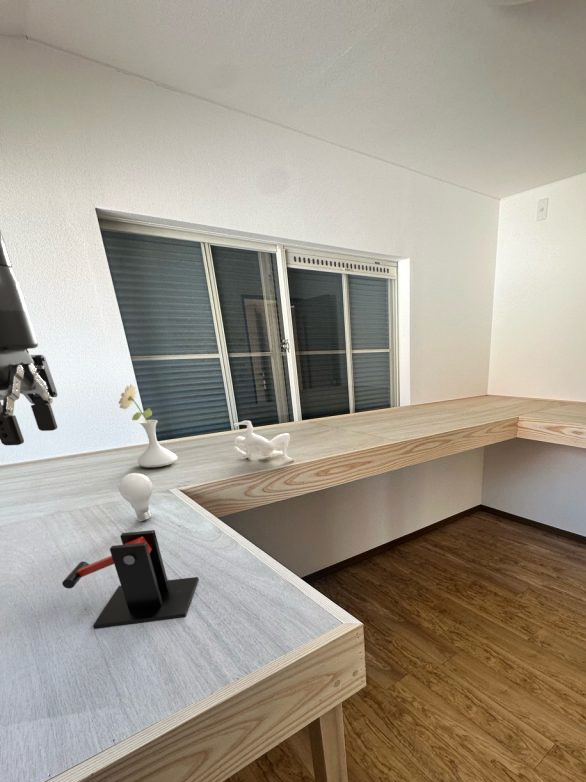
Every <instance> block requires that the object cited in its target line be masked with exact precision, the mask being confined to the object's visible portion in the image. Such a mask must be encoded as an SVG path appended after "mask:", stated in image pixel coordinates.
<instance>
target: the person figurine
mask: <svg viewBox="0 0 586 782" xmlns="http://www.w3.org/2000/svg"><path fill="white" fill-rule="evenodd" d="M240 425H241V426H242V425H244V426H246V430H245V436H236V437H235V438H234V443H235V444H236V445H238V446H243V447H244V449H245V451H243V450H241V449H240V448H239V447H238V446H233V450H234V451H235V452H238V454H240V455H241V456H242V457H243V458H244V459H246V458H248V459H249V458H252V457H253V456H254V454H255V453H257V452H258V453H259V455H261V456H263V457H271V456H276V455H281V459H282V460H287V461H292V460H291V459H292V458H291V457H289V456H288V454H287V449H288V446H289V444H290V439H291V434H290V433H281V434H277V435H276V436H275V437H273V438H272V439H270V440H268V439H267V438H265V437H263V436H261V435H258V434H256V433H254V426H253V424H252V421H251V420H247V419H246V420H242V421H239V422H233V426H234V427H237V426H240ZM280 447H281V450H276V449H278V448H280Z"/></svg>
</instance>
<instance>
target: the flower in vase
mask: <svg viewBox="0 0 586 782" xmlns="http://www.w3.org/2000/svg"><path fill="white" fill-rule="evenodd" d="M136 394H137V388H136V386H134V385H133V384H132V383H131V384H129V385H126V387H125V388H124V392H122V393H120V396H121V397H120V399H119V401H118V405H119V408H120V409H123V410H127V409H128V408H129V407H130V406H131V405H132V404H133V403H134V404H135V406H136V407H137V409H138V411H137V412H135V413H134V414H133V415H132V418H131V420H132V421H138V420H140V418H141V416H143V419H144V420H141V421H139V422H138V423H139V424H140V425H141V426H142V427H143V429H144V430H145V433H146V435H147V439H148V447H147V448H146V449H145V450H144V451H143V452H142V453H141V455H139V456H138V459H137V460H136V463H137V465H139V466H140V467H144V468H160V467H165V466H169V465H171V464H173V463H175V462H176V461H178V456H177V455H176V453H174V452H172V451H171V450H169V449H167V448H165V447H163V446H162V445H160V443H159V442H158V439H157V435H156V434H157V433H156V427H157V423H158V420H157V419H147V418H149V417H152V415H153V412H152V410H151V408H150V407H148V408H146V409H145V410H144V411H142V410H141V408H140V406H139V405H138V403H137V402H136V401H135V398H136Z"/></svg>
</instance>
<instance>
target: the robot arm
mask: <svg viewBox="0 0 586 782" xmlns="http://www.w3.org/2000/svg"><path fill="white" fill-rule="evenodd" d="M38 346H39V342H38V338H37V336H36V333H35V329H34V326H33V323H32V319H31V316H30V312H29V310H28V306H27V303H26V300H25V296H24V293H23V290H22V287H21V285H20V283H19V280H18V279H17V276H16V274H15V271H14V269H13V265H12V262H11V259H10V256H9V252H8V250H7V246H6V243H5V240H4V237H3V234H2V231H1V230H0V442H1V444H2V445H4V446H20V445H23V444H24V442H25V440H24V436H23V433H22V431H21V428H20V424H19V422H18V419H17V416H16V415H15V414H14V411H15V403H16V401H17V400H19V399H20V394H21V395H23V396H24V397H25V398H26V400H27V401H28V402H29V403H30V404H31V405H30V408H31V410H32V414H33V417H34V420H35V423H36V425H37V428H38V430H39V431H40V432H50V431H55V430H57V429H58V424H57V420H56V418H55V414H54V412H53V407H52V404H53V402H54V401H53V399H54V398H57V397H58V391H57V388H56V385H55V382H54V379H53V376H52V373H51V370H50V366H49V364H48V361H47V358H46V356H45V355H44V354H30V352H29V349H36V348H37V347H38ZM1 401H2V402H1Z"/></svg>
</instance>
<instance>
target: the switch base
mask: <svg viewBox="0 0 586 782" xmlns="http://www.w3.org/2000/svg"><path fill="white" fill-rule="evenodd" d="M142 536H143V537H144V539H145V540H146V542H147V543H148V544H149V546H150V547H151V548H152V550H151V552H150V553H149V550H148V547H147V543H135V544H125V543H128V542H130V541H133V540H135V539H137V538H140V537H142ZM119 537H120V540H121V544H117V545H116V544H115V545H111V546H110V548H109V552H110V556H112V558H113V561H114V564H113V565H114V567H115V571H116V574H117V578H118V580H119V584H120V585H118V586H117V588H116V589H115V591H114V593H113V594H112V595H111V597H110V598H109V600H108V602H107V603H106V605H105V606H104V607H103V609H102V610H101V612H100V614H99V615H98V617H97V619H96V620H95V621H94V623H93V624H92V627H93V630H98V629H104V628H105V629H106V628H113V627H119V626H121V627H122V626H127V625H128V626H129V625H134V624H135V625H137V624H143V623H152V622H159V621H165V620H173V619H182V618H186V617H187V614H188V612H189V609H190V607H191V603H192V601H193V597H194V595H195V593H196V590H197V587H198V584H199V576H194V577H185V578H176V579H175V578H174V579H168V577H167V572H166V569H165V568H166V567H165V566H164V562H163V561H164V560H163V557H162V553H161V550H160V546H159V542H158V537H157V534H156V530H155V529H150V530H140V531H139V530H138V531H129V532H122V533H121V534H120V535H119ZM124 544H125V545H124Z"/></svg>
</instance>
